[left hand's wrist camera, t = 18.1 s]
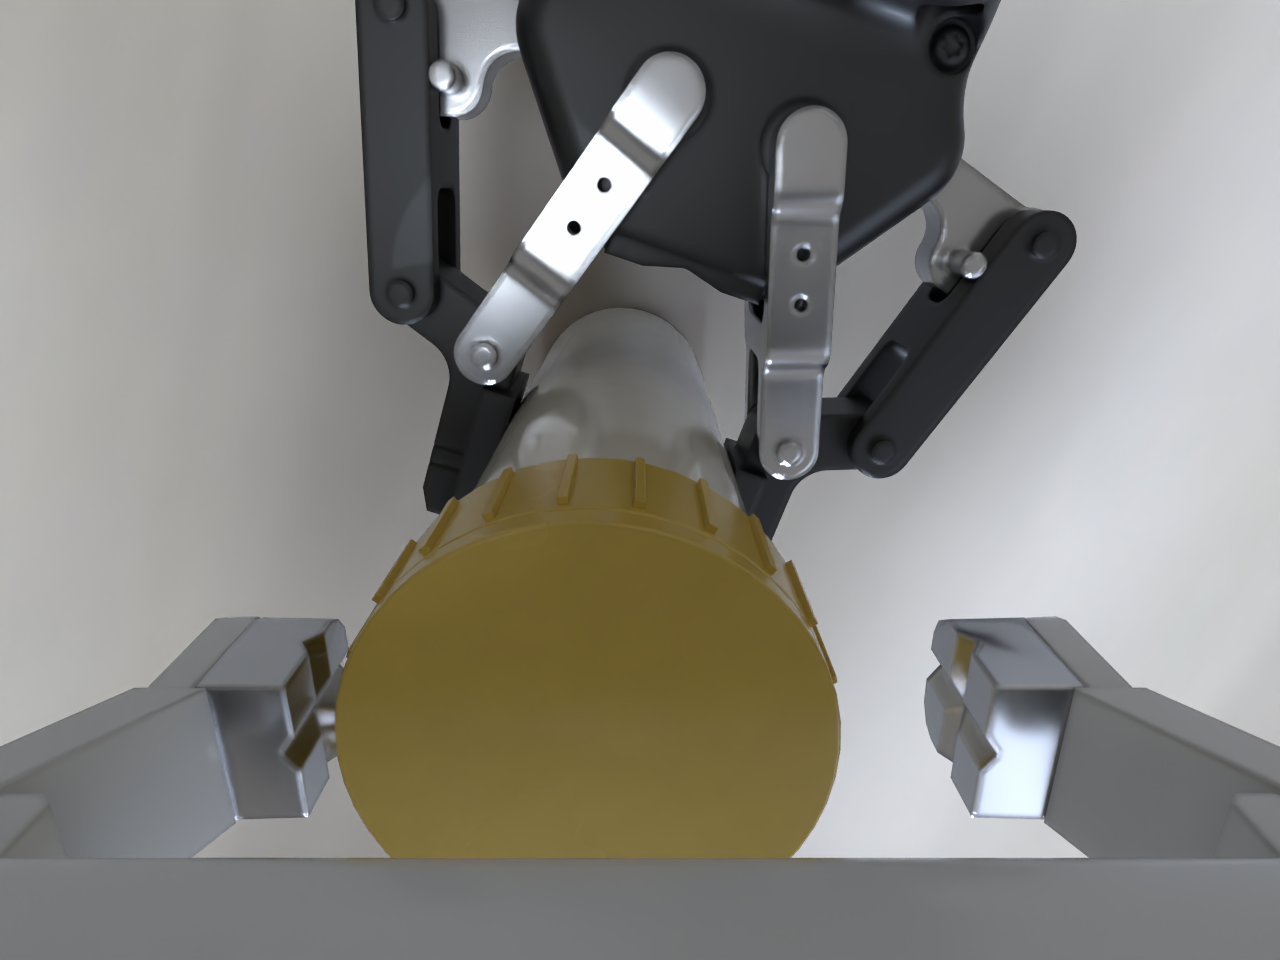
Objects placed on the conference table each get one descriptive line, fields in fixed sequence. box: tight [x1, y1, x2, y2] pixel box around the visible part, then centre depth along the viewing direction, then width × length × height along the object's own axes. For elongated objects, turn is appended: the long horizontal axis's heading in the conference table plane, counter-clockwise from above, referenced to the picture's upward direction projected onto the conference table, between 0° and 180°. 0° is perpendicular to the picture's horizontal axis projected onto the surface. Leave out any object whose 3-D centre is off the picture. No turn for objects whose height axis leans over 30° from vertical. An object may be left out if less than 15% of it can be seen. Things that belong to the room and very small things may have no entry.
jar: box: [474, 308, 747, 515], centre depth 16 cm, size 5×5×16 cm
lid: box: [334, 454, 841, 858], centre depth 9 cm, size 6×6×2 cm
